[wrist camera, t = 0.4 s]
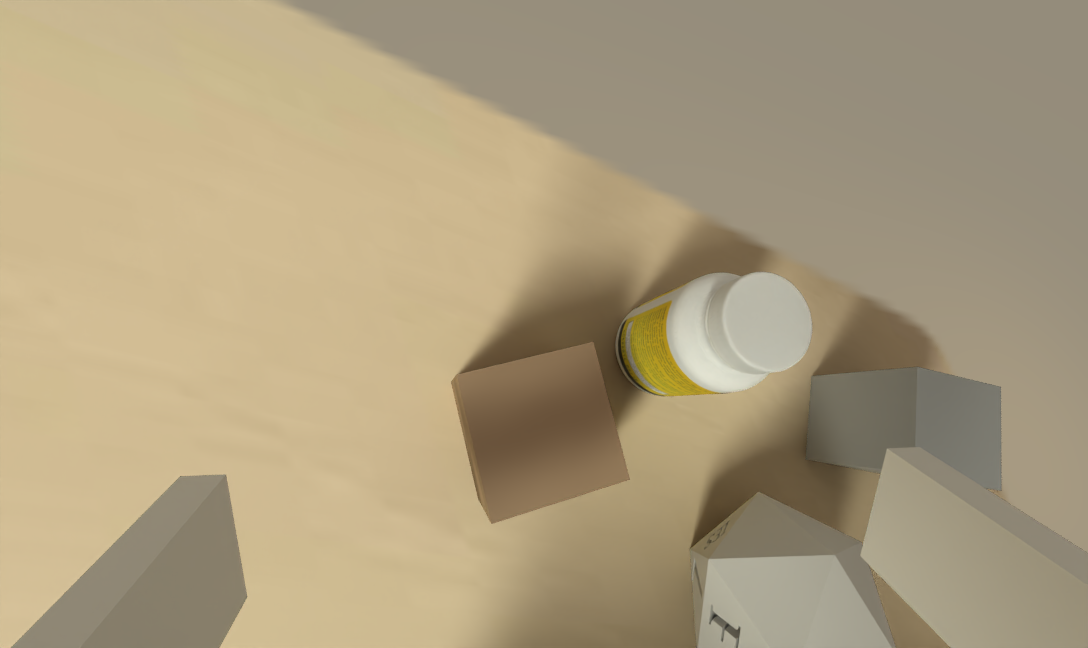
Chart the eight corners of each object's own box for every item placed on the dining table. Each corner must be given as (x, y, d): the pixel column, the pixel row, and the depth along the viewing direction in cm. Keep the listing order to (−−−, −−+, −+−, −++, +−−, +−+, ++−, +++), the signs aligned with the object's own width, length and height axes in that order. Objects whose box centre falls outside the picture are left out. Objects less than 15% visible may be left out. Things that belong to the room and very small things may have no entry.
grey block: (876, 472, 31) (1001, 490, 24) (805, 459, 30) (914, 473, 23) (880, 391, 32) (1000, 386, 25) (811, 376, 31) (917, 366, 24)
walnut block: (587, 464, 27) (630, 479, 21) (477, 497, 26) (491, 523, 20) (559, 355, 28) (593, 341, 22) (451, 382, 26) (456, 374, 20)
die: (699, 458, 29) (689, 559, 20) (871, 489, 26) (947, 622, 17) (685, 583, 31) (670, 728, 22) (846, 625, 28) (903, 810, 19)
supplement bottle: (660, 417, 28) (776, 421, 19) (593, 347, 28) (676, 316, 19) (718, 350, 30) (852, 323, 20) (655, 284, 30) (760, 225, 20)
